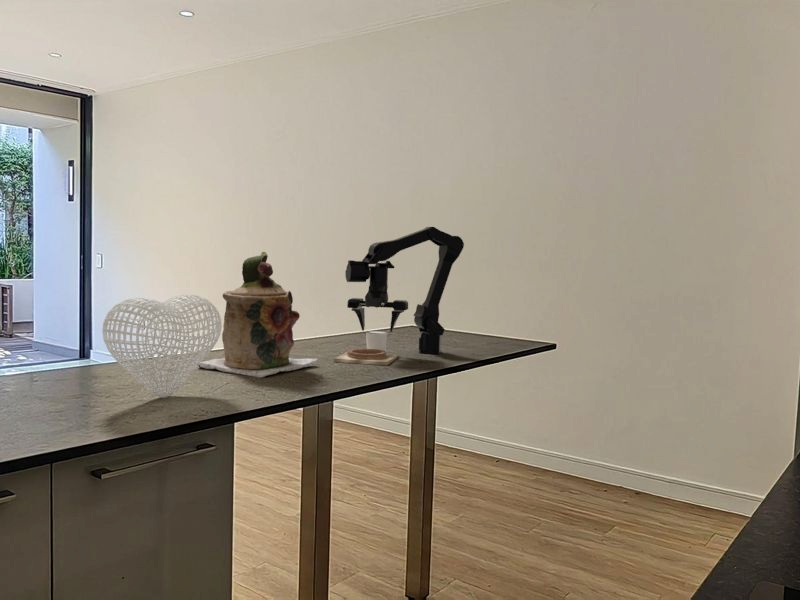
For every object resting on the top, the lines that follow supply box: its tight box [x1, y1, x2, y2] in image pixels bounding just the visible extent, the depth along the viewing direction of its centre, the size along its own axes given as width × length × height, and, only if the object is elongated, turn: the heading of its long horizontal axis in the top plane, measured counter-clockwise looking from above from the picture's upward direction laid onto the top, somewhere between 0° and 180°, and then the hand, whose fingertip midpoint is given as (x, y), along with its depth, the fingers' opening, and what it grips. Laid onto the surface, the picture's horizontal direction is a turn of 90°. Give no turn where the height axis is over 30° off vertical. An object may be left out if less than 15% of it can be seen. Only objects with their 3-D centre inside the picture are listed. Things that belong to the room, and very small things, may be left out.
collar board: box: [333, 348, 398, 366], centre depth 216 cm, size 16×15×2 cm
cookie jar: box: [197, 251, 318, 378], centre depth 196 cm, size 25×25×32 cm
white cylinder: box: [365, 330, 388, 352], centre depth 228 cm, size 7×7×7 cm
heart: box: [102, 294, 222, 399], centre depth 155 cm, size 28×16×22 cm, turn 153°
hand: (377, 331), depth 227 cm, fingers open, 9 cm apart
